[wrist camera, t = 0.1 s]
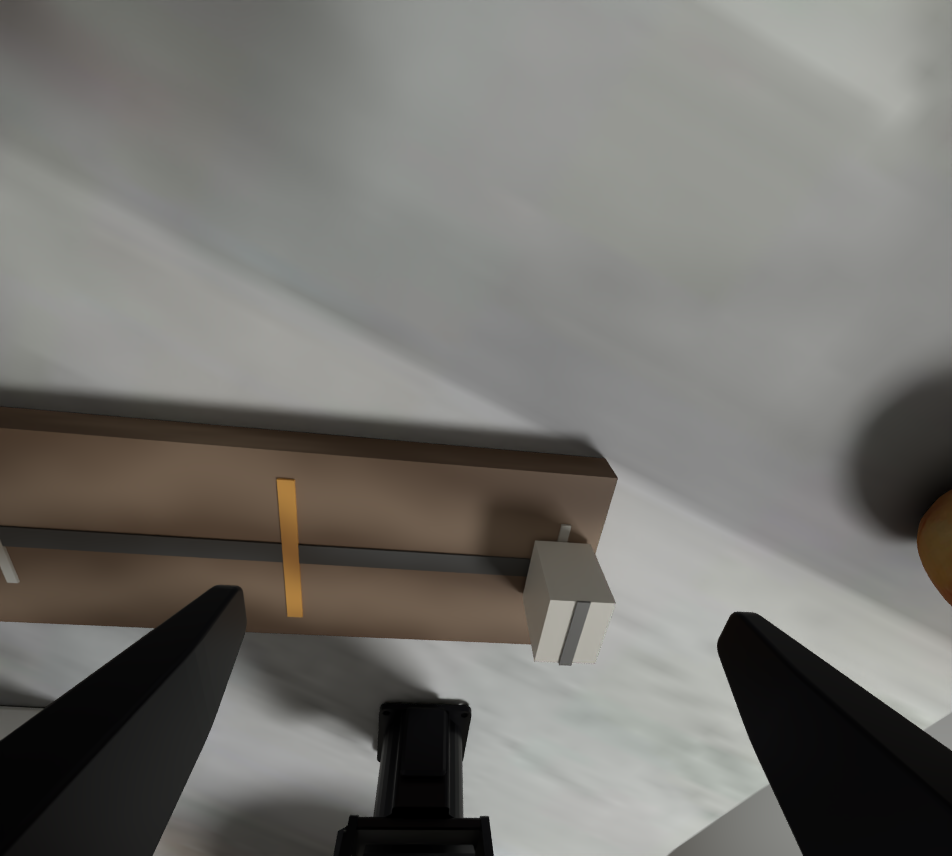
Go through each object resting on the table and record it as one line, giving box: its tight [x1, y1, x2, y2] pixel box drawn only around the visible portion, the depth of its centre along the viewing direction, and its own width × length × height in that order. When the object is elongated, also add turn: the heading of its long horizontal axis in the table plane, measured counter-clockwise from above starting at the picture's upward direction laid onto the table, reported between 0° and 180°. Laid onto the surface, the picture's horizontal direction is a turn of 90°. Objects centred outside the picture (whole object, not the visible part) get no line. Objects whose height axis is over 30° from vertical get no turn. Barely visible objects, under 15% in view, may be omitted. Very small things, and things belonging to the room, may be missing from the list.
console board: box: [0, 407, 618, 644], centre depth 24 cm, size 12×32×2 cm, turn 83°
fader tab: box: [523, 540, 616, 666], centre depth 22 cm, size 4×3×4 cm
